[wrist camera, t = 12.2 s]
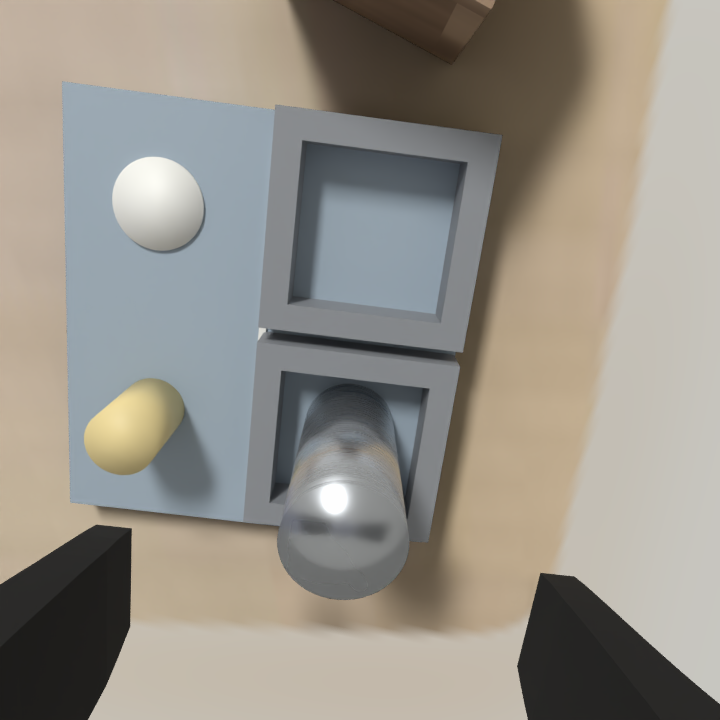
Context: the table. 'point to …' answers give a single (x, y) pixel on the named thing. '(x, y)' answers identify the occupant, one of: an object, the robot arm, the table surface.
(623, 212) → the table surface
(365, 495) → the pin
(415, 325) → the board
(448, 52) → the wooden toy block
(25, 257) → the table surface
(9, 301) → the table surface
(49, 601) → the robot arm
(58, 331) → the table surface
